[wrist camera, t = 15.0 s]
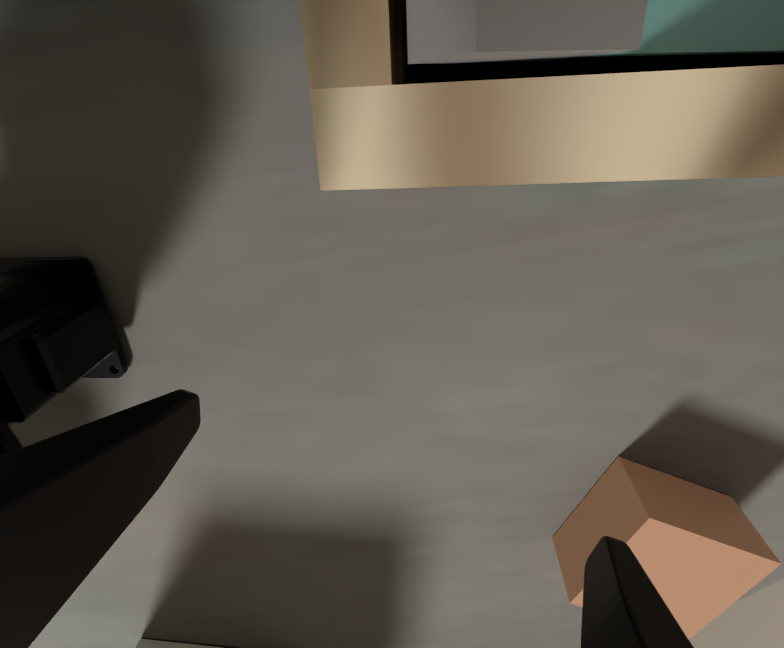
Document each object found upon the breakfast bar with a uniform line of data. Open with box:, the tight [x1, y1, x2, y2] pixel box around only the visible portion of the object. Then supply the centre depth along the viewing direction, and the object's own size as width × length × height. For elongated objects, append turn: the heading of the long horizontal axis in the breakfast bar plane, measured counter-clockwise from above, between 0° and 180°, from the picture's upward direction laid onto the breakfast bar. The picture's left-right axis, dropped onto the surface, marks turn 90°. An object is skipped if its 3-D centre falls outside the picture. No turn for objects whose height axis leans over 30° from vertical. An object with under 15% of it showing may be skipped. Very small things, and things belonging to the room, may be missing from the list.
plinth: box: [552, 456, 781, 640], centre depth 25 cm, size 7×7×4 cm
